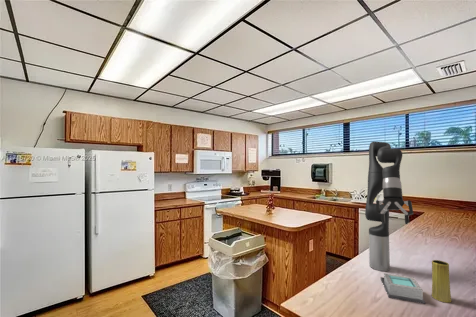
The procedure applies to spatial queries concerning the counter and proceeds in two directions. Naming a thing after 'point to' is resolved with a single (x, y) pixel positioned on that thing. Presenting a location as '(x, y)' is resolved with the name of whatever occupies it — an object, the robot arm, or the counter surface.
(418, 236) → the counter surface
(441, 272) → the vase
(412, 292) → the grey tray
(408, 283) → the plate
